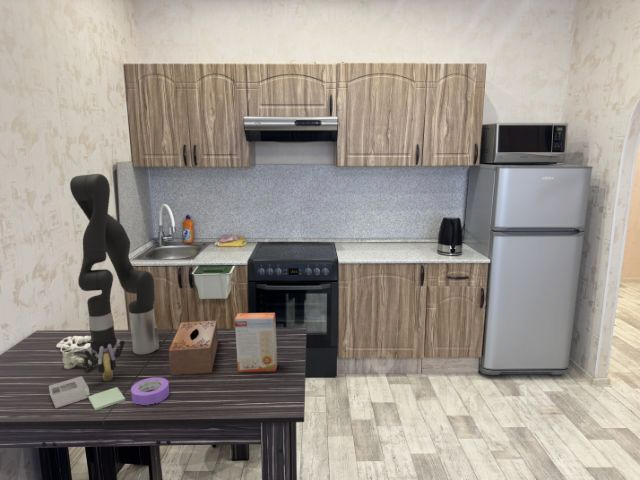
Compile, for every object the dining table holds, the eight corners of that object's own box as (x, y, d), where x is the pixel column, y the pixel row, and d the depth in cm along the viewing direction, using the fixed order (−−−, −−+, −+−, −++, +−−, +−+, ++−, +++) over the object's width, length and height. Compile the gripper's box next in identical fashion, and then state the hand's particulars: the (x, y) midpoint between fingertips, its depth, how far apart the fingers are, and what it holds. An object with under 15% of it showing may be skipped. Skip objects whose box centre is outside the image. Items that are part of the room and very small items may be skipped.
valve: (58, 370, 168) (86, 373, 165) (56, 354, 167) (84, 357, 164) (71, 362, 174) (98, 365, 172) (69, 346, 173) (96, 349, 170)
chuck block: (83, 385, 157) (81, 374, 156) (89, 397, 150) (88, 386, 149) (50, 395, 151) (48, 384, 150) (55, 408, 144) (53, 396, 143)
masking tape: (134, 390, 154) (132, 379, 154) (170, 384, 157) (169, 374, 157) (130, 408, 143) (128, 398, 143) (168, 402, 146) (167, 392, 146)
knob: (112, 374, 164) (108, 342, 162) (115, 379, 161) (111, 346, 159) (100, 378, 162) (96, 346, 159) (103, 382, 159) (99, 349, 156)
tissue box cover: (211, 373, 165) (209, 347, 163) (170, 376, 163) (168, 350, 161) (218, 342, 190) (216, 320, 188) (182, 345, 188) (180, 322, 186)
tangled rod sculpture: (46, 353, 185) (43, 344, 184) (76, 336, 198) (74, 328, 197) (80, 360, 178) (77, 350, 176) (109, 342, 190) (107, 333, 189)
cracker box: (277, 364, 170) (275, 311, 166) (275, 372, 164) (273, 318, 160) (240, 364, 171) (237, 312, 166) (237, 372, 165) (234, 318, 160)
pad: (117, 389, 155) (117, 386, 154) (125, 400, 148) (124, 398, 148) (88, 398, 149) (88, 396, 149) (95, 410, 142) (95, 408, 142)
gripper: (119, 317, 164) (124, 361, 168) (76, 327, 156) (83, 373, 159) (125, 323, 159) (130, 368, 162) (81, 334, 150) (88, 381, 154)
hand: (107, 370), depth 161 cm, fingers closed on knob, 3 cm apart
